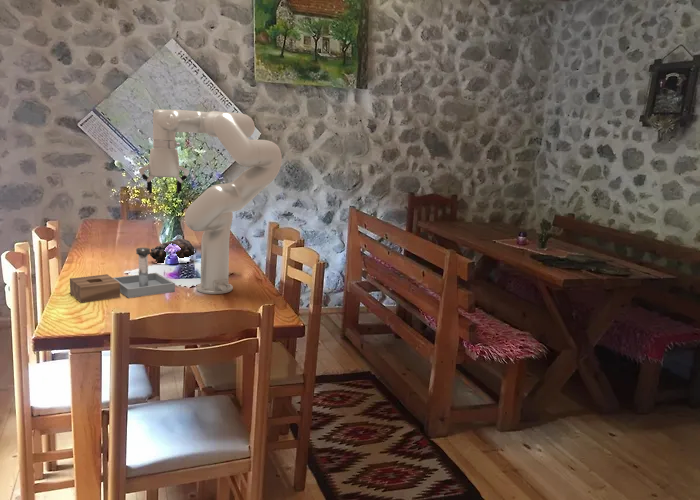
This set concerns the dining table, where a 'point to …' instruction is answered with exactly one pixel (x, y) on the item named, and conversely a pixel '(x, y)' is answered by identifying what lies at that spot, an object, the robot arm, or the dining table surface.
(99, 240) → the dining table surface
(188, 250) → the pine cone
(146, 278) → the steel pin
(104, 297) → the walnut block
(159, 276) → the grey tray
